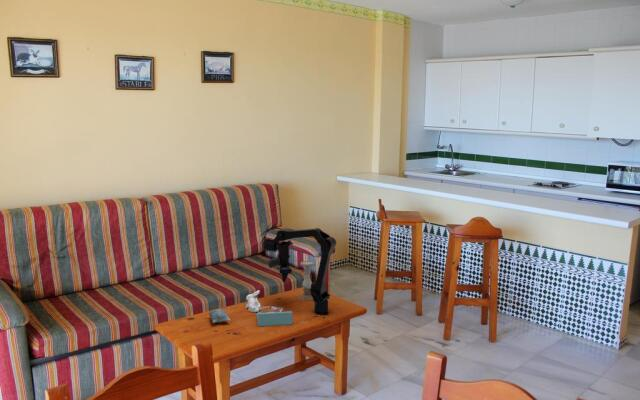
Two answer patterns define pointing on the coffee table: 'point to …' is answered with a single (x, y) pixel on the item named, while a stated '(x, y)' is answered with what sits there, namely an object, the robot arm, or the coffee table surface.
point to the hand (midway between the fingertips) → (283, 282)
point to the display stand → (274, 318)
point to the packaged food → (218, 316)
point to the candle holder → (307, 281)
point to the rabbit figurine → (253, 302)
